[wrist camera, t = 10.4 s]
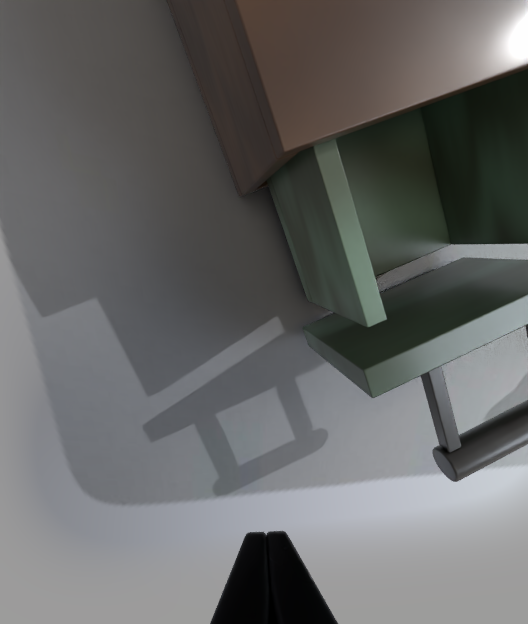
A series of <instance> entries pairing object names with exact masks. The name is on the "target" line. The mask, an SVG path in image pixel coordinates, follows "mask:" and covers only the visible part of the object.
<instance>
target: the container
mask: <svg viewBox="0 0 528 624" xmlns="http://www.w3.org/2000/svg"><path fill="white" fill-rule="evenodd" d="M267 183H268V186H269V189H270V192H271V195H272V198H273V201H274V204H275V206H276V209H277V212H278V215H279V218H280V221H281V224H282V227H283V230H284V233H285V236H286V238H287V241H288V244H289V247H290V250H291V253H292V256H293V259H294V262H295V265H296V267H297V270H298V273H299V276H300V279H301V282H302V285H303V288H304V291H305V294H306V296H307V299H308V301H310V302H312V303H314V304H316V305H319V306H321V307H323V308H325V309H328V310H330V311H332V312H334V314H332V315H330V316H327V317H325V318H323V319H320V320H318V321H316V322H314V323H311V324H309V325H307V326H304V327H303V331H304V334H305V336H306V339H307V342H308V345H309V347H311V348H312V349H313V350H314V351H316V352H317V353H318V354H319V355H320V356H322V357H323V358H324V359H325V360H326V361H328V362H329V363H330V364H331V365H333V366H334V367H335V368H336V369H337V370H339V371H340V372H341V373H342V374H343V375H345V376H346V377H347V378H348V379H350V380H351V381H352V382H353V383H354V384H356V385H357V386H358V387H359V388H360V389H362V390H363V391H364V392H365V393H367V394H368V395H369V396H370V397H371V398H375V397H377V396H379V395H381V394H383V393H385V392H387V391H389V390H391V389H393V388H396V387H398V386H400V385H402V384H404V383H406V382H408V381H410V380H412V379H414V378H416V377H419V376H421V378H422V382H423V386H424V390H425V393H426V397H427V401H428V404H429V408H430V412H431V415H432V419H433V423H434V426H435V430H436V434H437V437H438V441H439V444H440V445H439V446H437V447H435V448H434V449H433V457H434V459H435V461H436V463H437V465H438V467H439V468H440V470H441V471H442V472H443V473H444V474H445V475H446V476H447V477H448V478H449V479H450V480H452V481H455V482H457V481H459V480H461V479H463V478H464V477H467V476H469V475H470V474H472V473H474V472H476V471H478V470H480V469H482V468H484V467H485V466H487V465H489V464H491V463H493V462H495V461H497V460H499V459H501V458H502V457H504V456H506V455H508V454H510V453H512V452H514V451H516V450H517V449H519V448H521V447H523V446H525V445H527V444H528V400H527V401H525V402H523V403H521V404H519V405H517V406H515V407H513V408H511V409H509V410H507V411H505V412H503V413H501V414H499V415H498V416H496V417H494V418H492V419H490V420H488V421H486V422H484V423H482V424H480V425H478V426H476V427H474V428H472V429H470V430H468V431H466V432H464V433H462V434H460V435H458V431H457V427H456V423H455V419H454V415H453V411H452V407H451V403H450V399H449V395H448V391H447V387H446V383H445V379H444V375H443V371H442V367H441V366H442V365H444V364H446V363H448V362H450V361H452V360H454V359H456V358H458V357H461V356H463V355H465V354H467V353H469V352H471V351H473V350H475V349H477V348H479V347H481V346H484V345H486V344H488V343H490V342H492V341H494V340H496V339H498V338H500V337H502V336H505V335H507V334H509V333H511V332H513V331H515V330H517V329H519V328H521V327H523V326H525V325H526V331H527V337H528V260H515V259H488V258H461V259H459V260H456V261H454V262H452V263H449V264H447V265H445V266H443V267H440V268H438V269H436V270H433V271H431V272H429V273H426V274H424V275H422V276H420V277H417V278H415V279H413V280H410V281H408V282H406V283H403V284H401V285H399V286H396V287H394V288H392V289H390V290H387V291H385V292H383V293H379V290H378V286H377V283H376V279H375V277H376V276H378V275H380V274H383V273H385V272H387V271H390V270H392V269H395V268H397V267H399V266H402V265H404V264H406V263H409V262H411V261H413V260H416V259H418V258H420V257H423V256H425V255H427V254H430V253H432V252H434V251H437V250H439V249H441V248H444V247H446V246H449V245H451V244H528V69H526V70H523V71H521V72H518V73H515V74H512V75H510V76H507V77H504V78H501V79H498V80H496V81H493V82H490V83H487V84H485V85H482V86H479V87H476V88H474V89H471V90H468V91H465V92H462V93H460V94H457V95H454V96H451V97H449V98H446V99H443V100H440V101H437V102H435V103H432V104H429V105H426V106H424V107H421V108H418V109H415V110H413V111H410V112H407V113H404V114H401V115H399V116H396V117H393V118H390V119H388V120H385V121H382V122H379V123H376V124H374V125H371V126H368V127H365V128H363V129H360V130H357V131H354V132H352V133H349V134H346V135H343V136H340V137H338V138H335V139H332V140H329V141H327V142H324V143H321V144H318V145H315V146H313V147H310V148H307V149H304V150H302V151H299V152H298V153H297V154H296V155H295V156H294V157H292V158H291V159H290V160H289V161H288V162H287V163H286V164H284V165H283V166H282V167H281V168H280V169H279V170H277V171H276V172H275V173H274V174H273V175H272V176H271V177H269V178H268V179H267Z"/></svg>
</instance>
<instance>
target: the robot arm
mask: <svg viewBox="0 0 528 624" xmlns="http://www.w3.org/2000/svg"><path fill="white" fill-rule="evenodd" d="M210 624H338V623H337V621H336V620H335V618H334V616H333V614H332V612H331V611H330V609H329V607H328V605H327V604H326V602H325V600H324V598H323V596H322V595H321V593H320V591H319V589H318V588H317V586H316V584H315V582H314V581H313V579H312V577H311V575H310V574H309V572H308V570H307V568H306V567H305V565H304V563H303V561H302V560H301V558H300V556H299V554H298V552H297V551H296V549H295V547H294V545H293V544H292V542H291V540H290V538H289V537H288V535H287V534H286V532H284V531H274V532H268V533H267V535H266V534H265V533H264V532H250V533H247V534H246V536H245V538H244V541H243V543H242V546H241V548H240V551H239V553H238V556H237V558H236V561H235V563H234V566H233V568H232V571H231V573H230V575H229V578H228V580H227V583H226V585H225V588H224V591H223V593H222V595H221V598H220V601H219V603H218V606H217V608H216V610H215V613H214V616H213V618H212V621H211V623H210Z"/></svg>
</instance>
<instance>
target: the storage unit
mask: <svg viewBox="0 0 528 624" xmlns="http://www.w3.org/2000/svg"><path fill="white" fill-rule="evenodd" d="M167 2H168V5H169V8H170V10H171V13H172V16H173V18H174V21H175V24H176V27H177V29H178V32H179V35H180V37H181V40H182V43H183V46H184V48H185V51H186V54H187V56H188V59H189V62H190V65H191V67H192V70H193V73H194V75H195V78H196V81H197V84H198V86H199V89H200V92H201V94H202V97H203V100H204V103H205V105H206V108H207V111H208V113H209V116H210V119H211V121H212V124H213V127H214V130H215V132H216V135H217V138H218V140H219V143H220V146H221V149H222V151H223V154H224V157H225V159H226V162H227V165H228V168H229V170H230V173H231V176H232V178H233V181H234V184H235V187H236V189H237V192H238V195H239V197H241V196H244V195H247V194H249V193H252V192H255V191H257V190H260V189H263V188H265V187H268V183H267V179H268V178H269V177H271V176H272V175H273V174H274V173H275V172H276V171H277V170H279V169H280V168H281V167H282V166H283V165H284V164H286V163H287V162H288V161H289V160H290V159H291V158H292V157H294V156H295V155H296V154H297V153H298V152H299V151H302V150H304V149H307V148H310V147H313V146H315V145H318V144H321V143H324V142H327V141H329V140H332V139H335V138H338V137H340V136H343V135H346V134H349V133H352V132H354V131H357V130H360V129H363V128H365V127H368V126H371V125H374V124H376V123H379V122H382V121H385V120H388V119H390V118H393V117H396V116H399V115H401V114H404V113H407V112H410V111H413V110H415V109H418V108H421V107H424V106H426V105H429V104H432V103H435V102H437V101H440V100H443V99H446V98H449V97H451V96H454V95H457V94H460V93H462V92H465V91H468V90H471V89H474V88H476V87H479V86H482V85H485V84H487V83H490V82H493V81H496V80H498V79H501V78H504V77H507V76H510V75H512V74H515V73H518V72H521V71H523V70H526V69H528V0H167Z"/></svg>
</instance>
